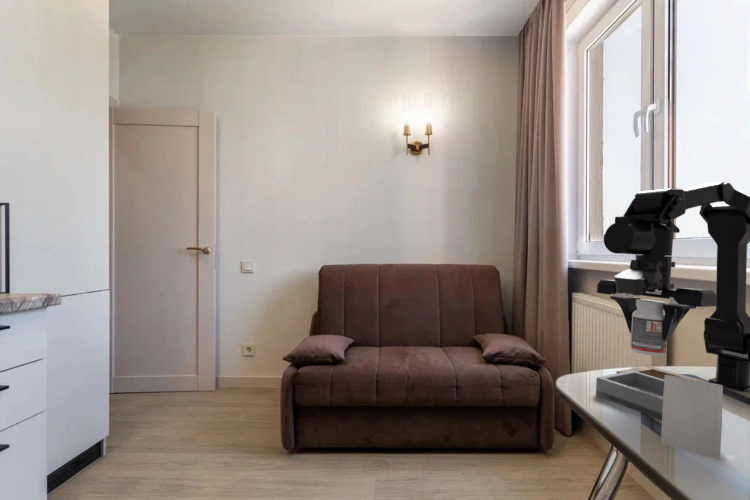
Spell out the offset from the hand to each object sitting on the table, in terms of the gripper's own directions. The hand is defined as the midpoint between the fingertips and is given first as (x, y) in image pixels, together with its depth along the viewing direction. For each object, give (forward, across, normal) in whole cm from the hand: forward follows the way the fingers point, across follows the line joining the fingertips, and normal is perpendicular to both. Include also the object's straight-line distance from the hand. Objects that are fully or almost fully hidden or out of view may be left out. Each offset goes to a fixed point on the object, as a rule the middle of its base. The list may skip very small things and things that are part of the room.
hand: (648, 336), depth 77 cm
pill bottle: (+3, 0, 0) cm, 3 cm away
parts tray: (+12, 0, 0) cm, 12 cm away
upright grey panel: (+13, +13, -13) cm, 22 cm away
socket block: (+12, -4, +13) cm, 18 cm away
